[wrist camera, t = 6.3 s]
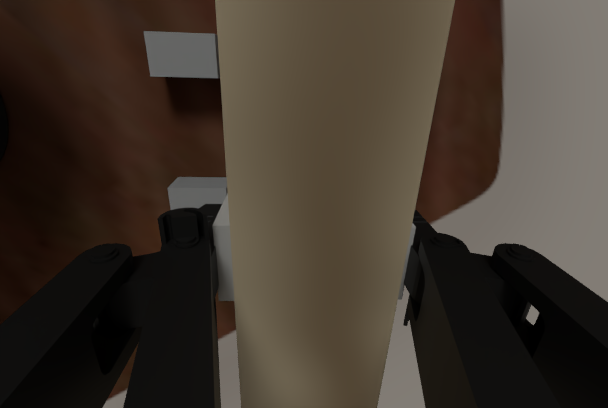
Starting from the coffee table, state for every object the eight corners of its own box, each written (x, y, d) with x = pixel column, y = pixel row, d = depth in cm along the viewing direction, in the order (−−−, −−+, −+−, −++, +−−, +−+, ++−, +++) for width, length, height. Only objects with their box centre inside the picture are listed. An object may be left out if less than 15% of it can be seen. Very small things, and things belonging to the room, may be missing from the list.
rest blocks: (182, 205, 31) (172, 219, 29) (158, 35, 25) (143, 31, 23) (233, 205, 32) (228, 219, 29) (221, 37, 26) (214, 33, 23)
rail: (256, 355, 16) (245, 469, 12) (244, -18, 10) (209, -94, 5) (343, 353, 16) (365, 464, 12) (385, -10, 10) (469, -75, 6)
